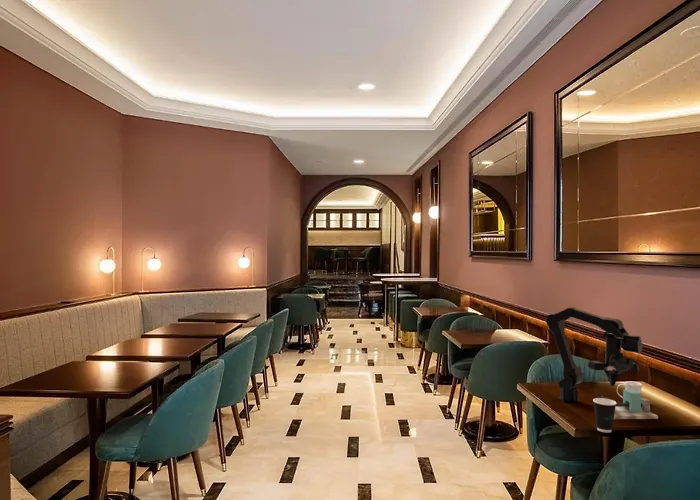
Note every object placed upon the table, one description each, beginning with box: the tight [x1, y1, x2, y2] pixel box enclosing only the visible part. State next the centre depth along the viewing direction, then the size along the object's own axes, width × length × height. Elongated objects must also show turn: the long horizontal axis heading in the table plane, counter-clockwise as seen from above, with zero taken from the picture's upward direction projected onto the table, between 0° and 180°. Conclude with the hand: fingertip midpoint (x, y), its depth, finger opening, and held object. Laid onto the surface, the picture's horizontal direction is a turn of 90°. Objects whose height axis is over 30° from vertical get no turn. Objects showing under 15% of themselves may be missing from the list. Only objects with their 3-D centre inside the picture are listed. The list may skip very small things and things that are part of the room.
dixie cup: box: [592, 397, 618, 433], centre depth 189 cm, size 8×8×11 cm
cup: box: [616, 380, 643, 399], centre depth 226 cm, size 7×10×8 cm
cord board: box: [600, 395, 659, 420], centre depth 209 cm, size 18×14×6 cm
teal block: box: [622, 389, 642, 412], centre depth 209 cm, size 4×6×7 cm
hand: (612, 385), depth 211 cm, fingers closed
